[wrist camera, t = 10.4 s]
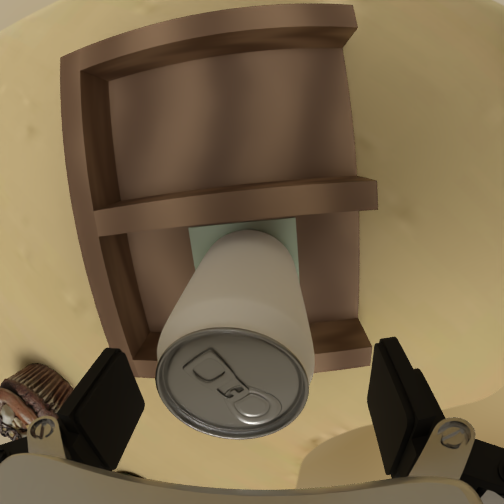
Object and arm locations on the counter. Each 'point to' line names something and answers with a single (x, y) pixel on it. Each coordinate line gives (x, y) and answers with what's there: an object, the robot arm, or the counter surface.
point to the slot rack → (217, 165)
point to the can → (238, 341)
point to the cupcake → (30, 398)
